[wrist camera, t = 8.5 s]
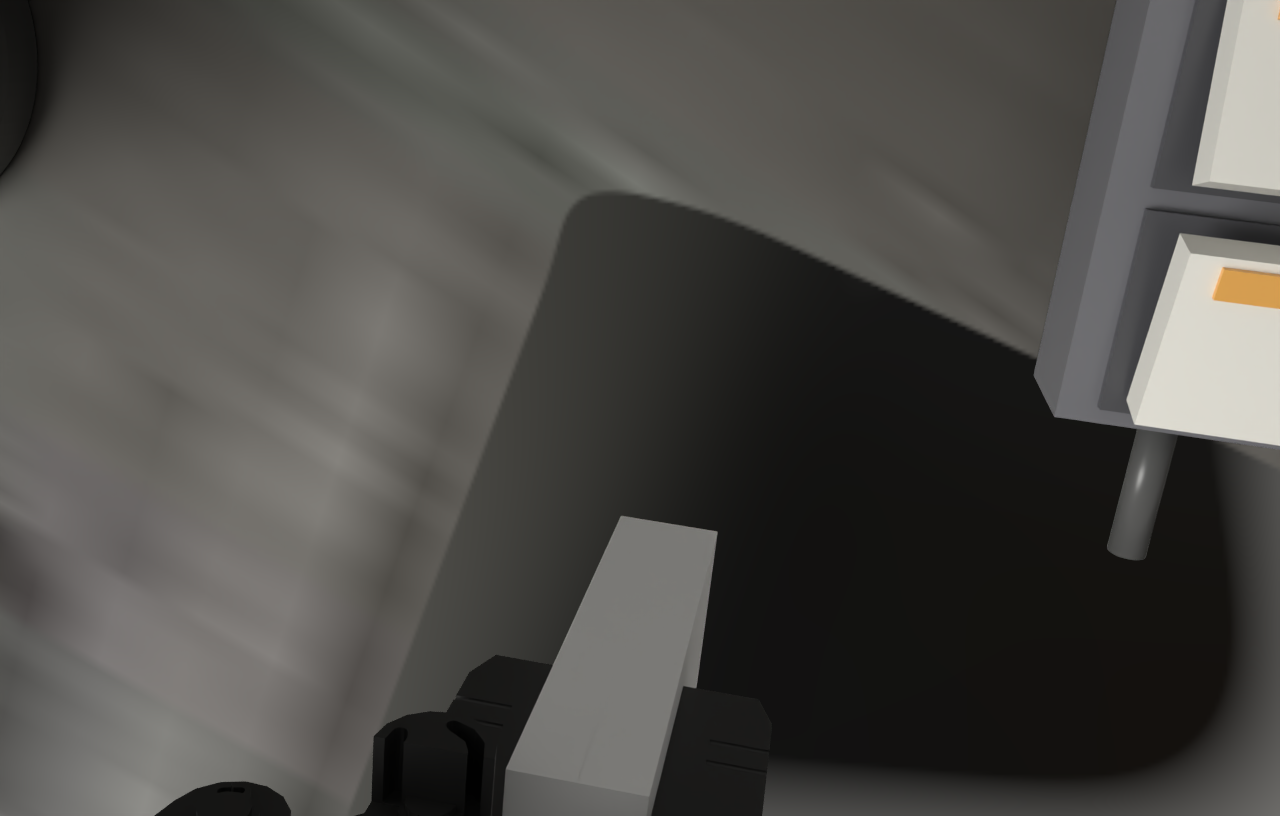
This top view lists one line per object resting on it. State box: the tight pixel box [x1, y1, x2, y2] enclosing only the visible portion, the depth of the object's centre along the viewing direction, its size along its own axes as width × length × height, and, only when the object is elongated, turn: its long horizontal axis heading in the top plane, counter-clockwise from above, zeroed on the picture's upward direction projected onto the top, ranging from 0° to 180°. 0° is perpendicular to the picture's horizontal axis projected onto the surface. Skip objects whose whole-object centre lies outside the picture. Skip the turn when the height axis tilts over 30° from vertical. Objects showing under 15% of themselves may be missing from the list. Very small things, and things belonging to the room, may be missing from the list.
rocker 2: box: [1127, 233, 1280, 446], centre depth 37 cm, size 5×6×2 cm
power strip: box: [1034, 0, 1280, 560], centre depth 40 cm, size 9×29×5 cm, turn 174°
